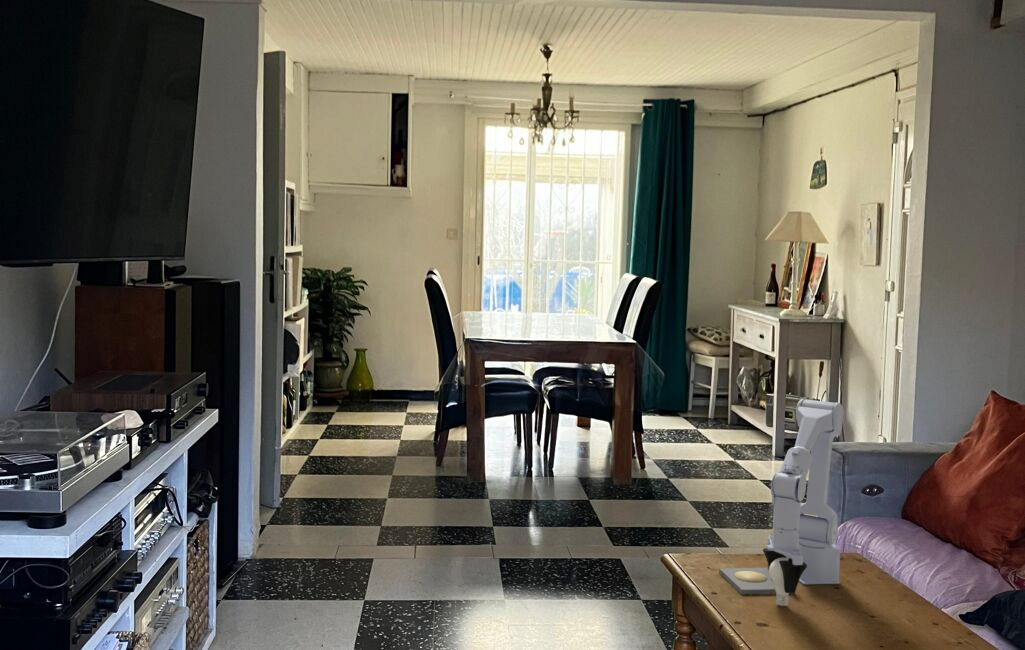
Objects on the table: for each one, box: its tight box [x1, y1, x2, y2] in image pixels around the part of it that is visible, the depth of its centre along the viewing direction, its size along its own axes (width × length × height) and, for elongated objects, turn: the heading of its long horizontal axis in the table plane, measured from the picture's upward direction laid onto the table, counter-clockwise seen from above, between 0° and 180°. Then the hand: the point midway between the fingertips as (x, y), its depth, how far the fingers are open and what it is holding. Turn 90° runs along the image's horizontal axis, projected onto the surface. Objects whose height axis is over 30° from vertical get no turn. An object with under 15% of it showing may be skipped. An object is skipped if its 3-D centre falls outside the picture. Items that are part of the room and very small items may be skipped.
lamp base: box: [718, 565, 776, 596], centre depth 234 cm, size 13×15×6 cm
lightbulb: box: [769, 557, 790, 608], centre depth 219 cm, size 6×6×11 cm
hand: (782, 586), depth 219 cm, fingers open, 7 cm apart
